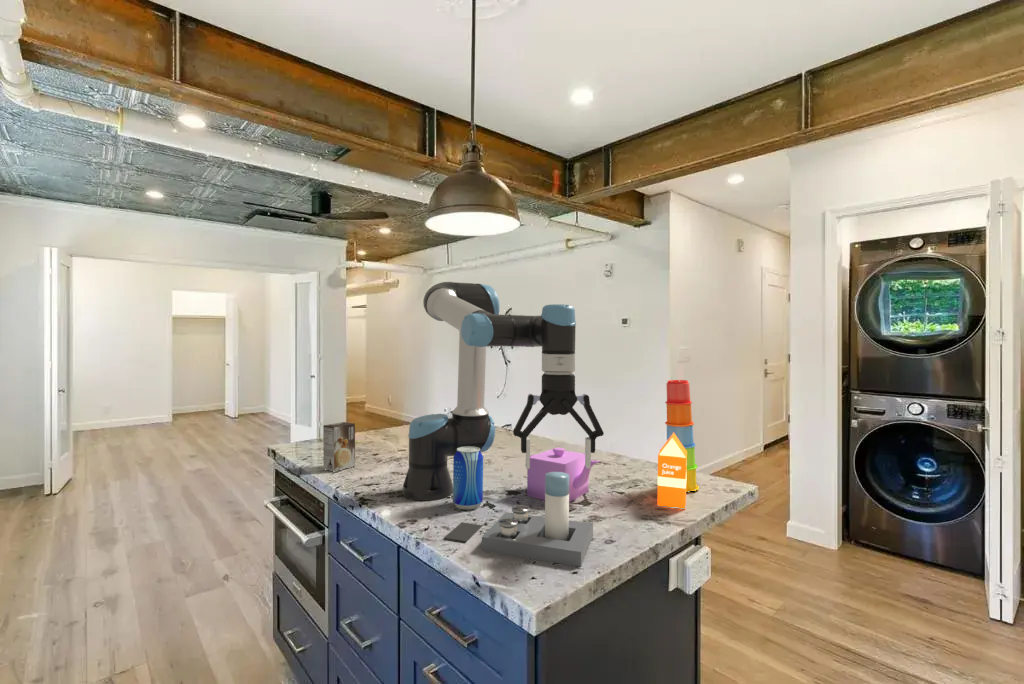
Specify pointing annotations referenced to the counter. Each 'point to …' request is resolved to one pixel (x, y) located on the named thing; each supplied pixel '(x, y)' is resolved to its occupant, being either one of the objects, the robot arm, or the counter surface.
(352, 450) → the coffee box
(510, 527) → the chrome dome knob
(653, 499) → the counter surface
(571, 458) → the teapot
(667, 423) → the stacking cups
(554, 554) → the housing
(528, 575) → the counter surface
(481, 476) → the beer can
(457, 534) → the mat
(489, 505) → the counter surface
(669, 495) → the orange juice
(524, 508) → the plunger far
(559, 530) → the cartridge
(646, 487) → the counter surface
